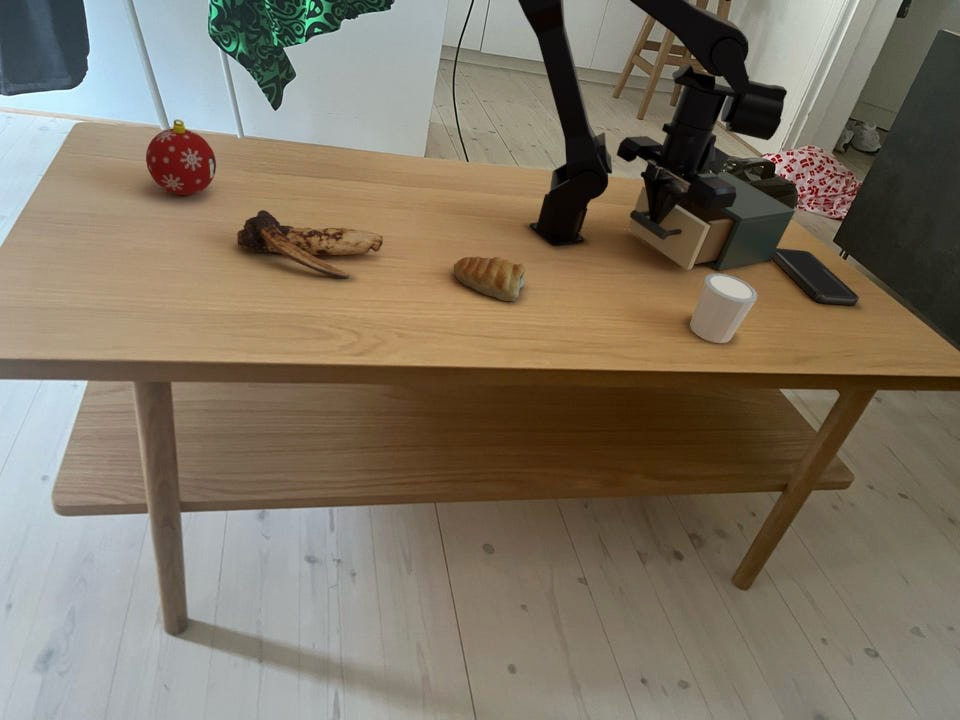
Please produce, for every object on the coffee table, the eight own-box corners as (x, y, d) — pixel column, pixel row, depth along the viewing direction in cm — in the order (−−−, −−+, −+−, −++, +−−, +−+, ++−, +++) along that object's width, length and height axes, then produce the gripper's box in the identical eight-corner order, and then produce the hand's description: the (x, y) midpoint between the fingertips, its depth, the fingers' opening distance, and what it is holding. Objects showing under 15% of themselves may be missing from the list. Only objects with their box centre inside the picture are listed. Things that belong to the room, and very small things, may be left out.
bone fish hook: (233, 276, 81) (385, 282, 85) (231, 242, 78) (389, 250, 82) (239, 236, 87) (379, 243, 92) (237, 203, 84) (382, 212, 89)
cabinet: (718, 271, 106) (742, 218, 101) (653, 227, 115) (673, 176, 110) (770, 260, 113) (795, 210, 108) (706, 219, 122) (726, 171, 117)
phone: (820, 296, 103) (770, 247, 114) (816, 302, 104) (767, 253, 115) (862, 299, 105) (809, 251, 116) (859, 305, 106) (806, 256, 117)
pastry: (446, 286, 87) (451, 260, 85) (458, 263, 93) (463, 238, 90) (516, 305, 87) (523, 280, 84) (524, 281, 92) (531, 257, 90)
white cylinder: (738, 351, 88) (761, 307, 84) (686, 337, 89) (707, 292, 84) (732, 324, 94) (754, 281, 90) (684, 310, 94) (703, 267, 90)
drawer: (666, 274, 100) (684, 229, 96) (607, 230, 108) (621, 188, 104) (738, 259, 109) (758, 218, 104) (679, 220, 117) (695, 181, 113)
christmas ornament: (172, 173, 97) (166, 102, 91) (228, 188, 97) (226, 119, 91) (135, 195, 90) (126, 120, 84) (196, 212, 90) (192, 138, 84)
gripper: (782, 147, 92) (734, 248, 101) (683, 97, 103) (648, 193, 112) (730, 150, 86) (685, 258, 95) (631, 98, 97) (599, 198, 106)
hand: (654, 224), depth 102 cm, fingers closed, pressing on drawer
